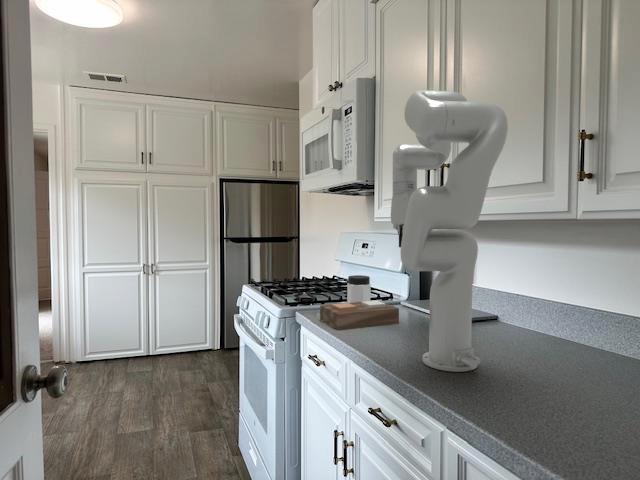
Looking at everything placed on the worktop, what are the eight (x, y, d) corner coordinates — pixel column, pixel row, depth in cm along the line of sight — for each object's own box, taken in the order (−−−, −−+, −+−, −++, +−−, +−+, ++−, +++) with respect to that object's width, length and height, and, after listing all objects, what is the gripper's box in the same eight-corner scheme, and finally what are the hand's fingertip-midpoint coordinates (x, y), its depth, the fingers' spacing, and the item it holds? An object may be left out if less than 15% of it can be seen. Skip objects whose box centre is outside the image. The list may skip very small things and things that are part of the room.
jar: (358, 304, 169) (358, 274, 168) (374, 307, 163) (374, 276, 163) (342, 308, 163) (342, 276, 162) (359, 311, 157) (359, 279, 156)
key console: (398, 323, 139) (398, 308, 139) (337, 330, 131) (337, 314, 131) (377, 314, 152) (377, 300, 152) (320, 319, 144) (320, 305, 143)
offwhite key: (385, 314, 142) (385, 303, 142) (370, 316, 140) (370, 305, 139) (376, 310, 147) (376, 300, 147) (361, 312, 145) (361, 301, 145)
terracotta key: (356, 317, 138) (356, 306, 138) (339, 319, 135) (339, 307, 135) (348, 313, 143) (348, 302, 143) (331, 315, 141) (331, 304, 141)
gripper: (429, 187, 128) (429, 248, 129) (400, 191, 142) (400, 246, 143) (409, 186, 125) (409, 248, 126) (381, 190, 139) (381, 246, 139)
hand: (404, 247), depth 134 cm, fingers closed
